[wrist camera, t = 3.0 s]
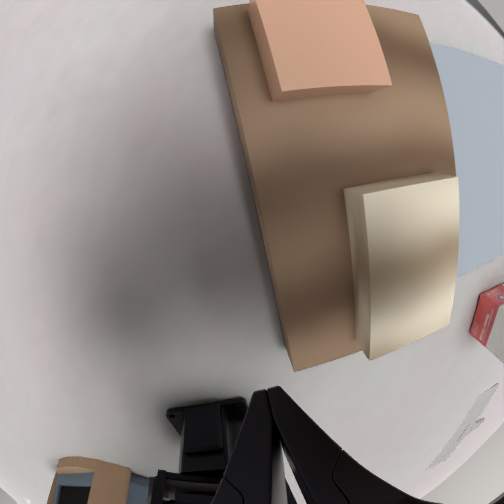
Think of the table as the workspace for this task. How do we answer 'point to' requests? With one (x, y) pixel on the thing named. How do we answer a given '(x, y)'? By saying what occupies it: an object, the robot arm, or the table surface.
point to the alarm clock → (96, 483)
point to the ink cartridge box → (490, 321)
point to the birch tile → (402, 258)
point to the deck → (329, 168)
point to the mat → (476, 151)
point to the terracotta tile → (318, 47)
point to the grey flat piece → (466, 425)
